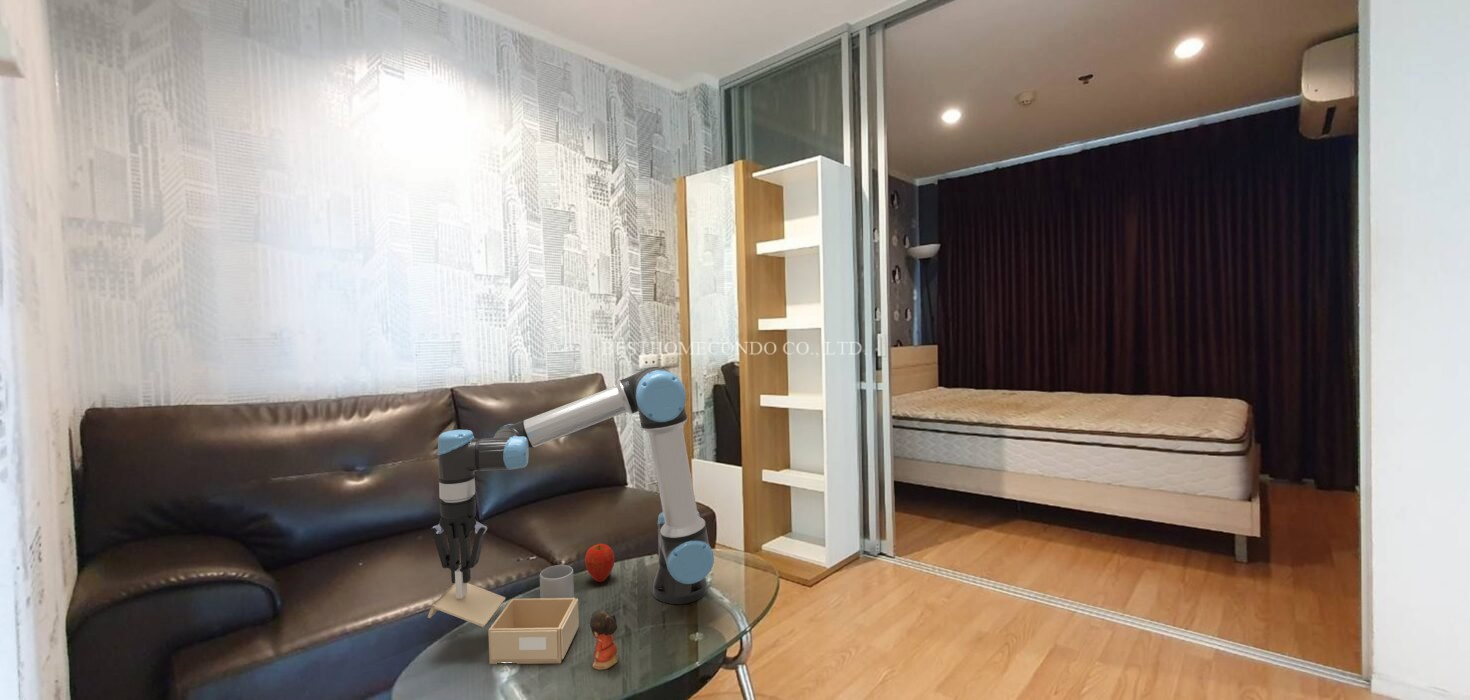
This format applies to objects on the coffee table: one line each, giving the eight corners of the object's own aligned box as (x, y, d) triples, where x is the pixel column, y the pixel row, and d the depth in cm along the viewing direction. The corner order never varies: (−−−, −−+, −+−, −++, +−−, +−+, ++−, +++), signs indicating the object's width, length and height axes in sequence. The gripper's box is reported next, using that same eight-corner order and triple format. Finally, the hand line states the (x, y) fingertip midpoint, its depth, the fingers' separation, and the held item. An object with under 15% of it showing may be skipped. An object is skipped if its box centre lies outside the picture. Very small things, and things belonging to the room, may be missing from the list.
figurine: (621, 655, 134) (620, 604, 133) (617, 670, 129) (616, 617, 128) (593, 655, 134) (592, 605, 133) (588, 670, 128) (587, 618, 128)
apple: (587, 574, 175) (586, 539, 174) (616, 573, 176) (615, 538, 175) (583, 588, 166) (582, 551, 166) (613, 586, 167) (612, 550, 167)
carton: (579, 628, 146) (578, 597, 145) (562, 664, 131) (561, 630, 130) (513, 628, 146) (512, 597, 145) (488, 665, 130) (487, 631, 130)
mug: (577, 616, 151) (576, 575, 151) (542, 623, 148) (541, 581, 147) (569, 595, 162) (568, 557, 162) (537, 602, 159) (536, 563, 158)
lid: (458, 579, 143) (453, 590, 144) (432, 605, 131) (427, 617, 131) (505, 597, 144) (501, 608, 144) (484, 625, 131) (479, 637, 131)
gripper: (492, 492, 139) (495, 587, 141) (437, 492, 139) (441, 588, 141) (479, 502, 132) (482, 603, 133) (421, 503, 132) (425, 604, 133)
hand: (461, 595), depth 137 cm, fingers closed
